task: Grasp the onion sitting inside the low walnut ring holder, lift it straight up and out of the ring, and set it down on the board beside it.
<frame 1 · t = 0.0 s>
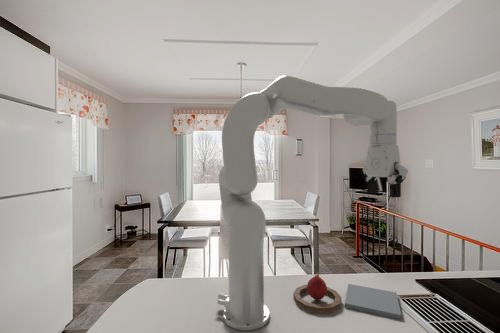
hand: (383, 195, 81), 31 cm above the counter, tool pointing down, fingers open, 9 cm apart
board: (371, 301, 76), on the counter
ring holder: (317, 300, 77), on the counter
onion: (317, 301, 77), resting in ring holder
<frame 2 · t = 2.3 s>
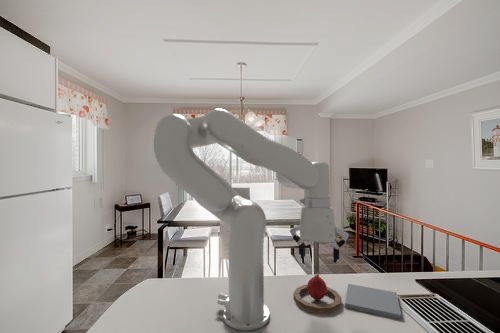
hand: (318, 259, 77), 12 cm above the counter, tool pointing down, fingers open, 9 cm apart
nothing on the counter moved.
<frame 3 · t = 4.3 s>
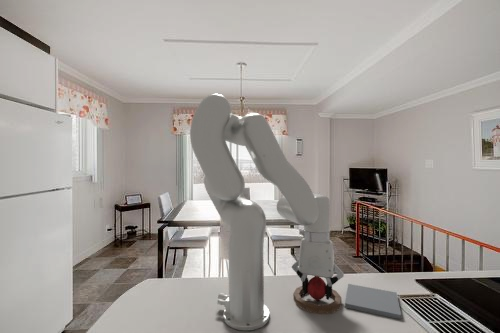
hand: (317, 294, 77), 2 cm above the counter, tool pointing down, fingers closed on onion, 5 cm apart
onion: (317, 301, 77), resting in ring holder, touching gripper
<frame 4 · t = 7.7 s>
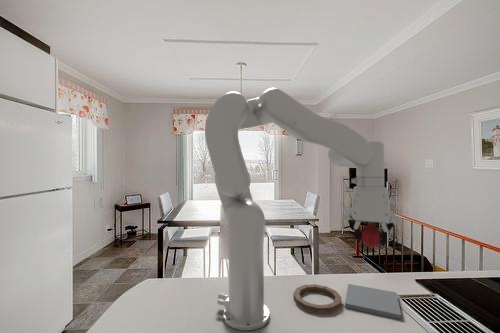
hand: (370, 242, 76), 18 cm above the counter, tool pointing down, fingers closed on onion, 5 cm apart
onion: (370, 248, 76), point 16 cm above the counter, touching gripper
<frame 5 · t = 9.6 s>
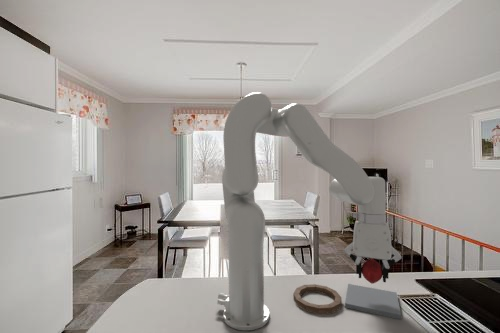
hand: (371, 277, 76), 7 cm above the counter, tool pointing down, fingers closed on onion, 5 cm apart
onion: (372, 284, 76), point 5 cm above the counter, touching gripper
when the fingers open (4 cm above the counter, at t = 11.1 s): onion drops 1 cm, resting on board.
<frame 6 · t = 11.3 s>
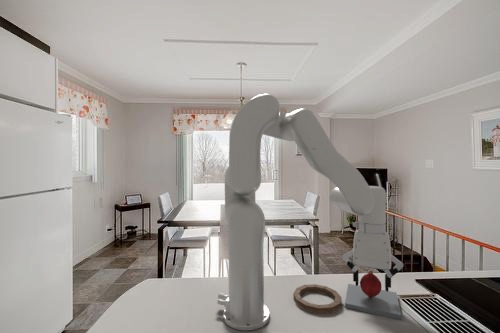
hand: (371, 286, 76), 5 cm above the counter, tool pointing down, fingers open, 7 cm apart
onion: (370, 298, 76), point 1 cm above the counter, touching board
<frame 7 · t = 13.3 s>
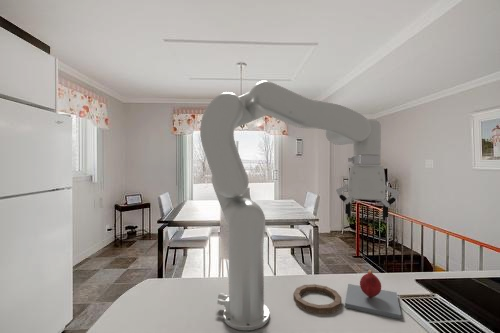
hand: (366, 218, 77), 25 cm above the counter, tool pointing down, fingers open, 9 cm apart
nothing on the counter moved.
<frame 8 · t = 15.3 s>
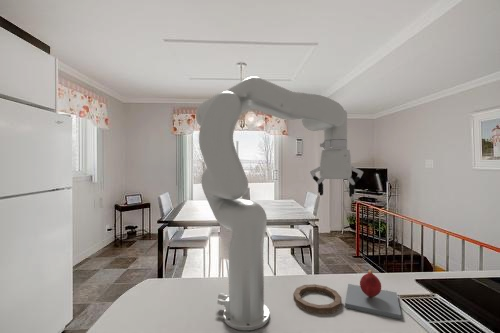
hand: (335, 195, 88), 30 cm above the counter, tool pointing down, fingers open, 9 cm apart
nothing on the counter moved.
at the end: onion inside the target area on the board (0.3 cm from its centre), point 1.0 cm above the board's base; onion touching board; the gripper is holding nothing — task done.
